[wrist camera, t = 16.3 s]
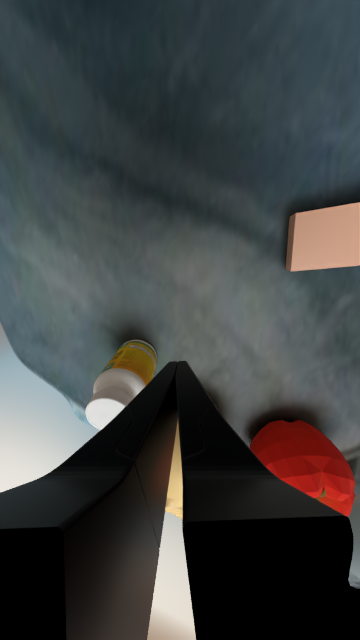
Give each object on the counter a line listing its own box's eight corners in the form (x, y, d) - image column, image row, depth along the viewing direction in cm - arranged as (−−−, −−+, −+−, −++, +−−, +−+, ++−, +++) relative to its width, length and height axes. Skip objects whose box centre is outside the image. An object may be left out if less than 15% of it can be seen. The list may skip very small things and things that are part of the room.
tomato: (246, 408, 26) (273, 481, 18) (330, 411, 26) (399, 489, 17) (238, 455, 30) (257, 534, 22) (311, 459, 29) (360, 543, 21)
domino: (295, 213, 16) (438, 188, 13) (289, 216, 17) (413, 195, 15) (290, 271, 17) (415, 260, 15) (285, 269, 19) (395, 259, 16)
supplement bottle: (148, 378, 25) (125, 447, 16) (113, 362, 25) (69, 425, 16) (164, 349, 23) (149, 409, 14) (127, 331, 23) (86, 382, 14)
